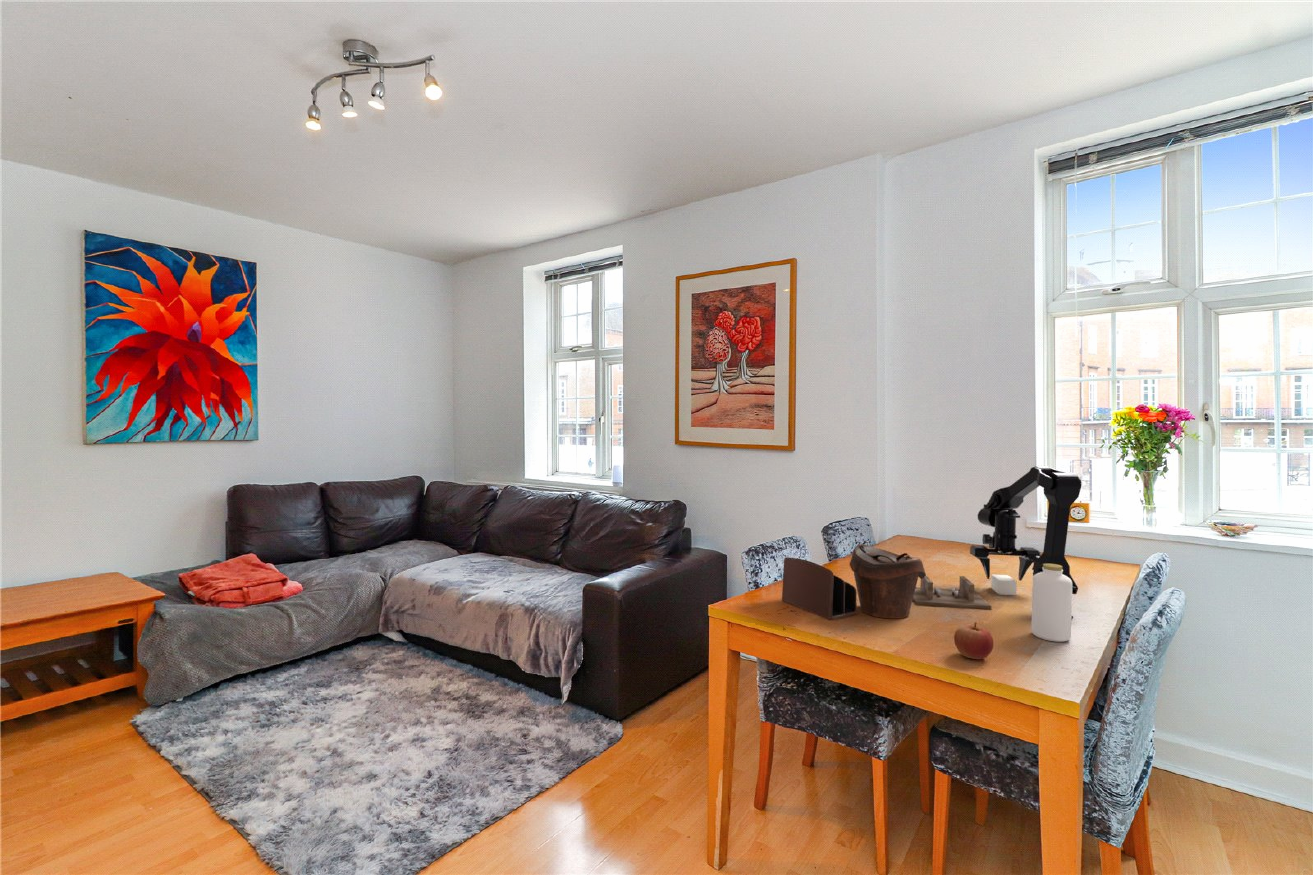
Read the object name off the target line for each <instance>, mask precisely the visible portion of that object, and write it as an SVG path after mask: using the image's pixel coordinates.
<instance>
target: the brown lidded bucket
mask: <svg viewBox="0 0 1313 875" xmlns="http://www.w3.org/2000/svg"><path fill="white" fill-rule="evenodd" d="M849 567H850V569H851V571H852V572H853V575H854V581H855V586H856V587H855V588H856V592H857V597H858V602H859V606H860V610H861V611H862V612H863V613H864V614H867V615H869V616H872V617H874V618H881V619H889V620H890V619H893V620H894V619H895V620H897V619H898V620H899V619H904V618H907V617H909V616H910V613H911V608H912V602H913V601H914V600H913V596H914V592H915V588H916V587H917V584H918V581H919V580H918V579H920V580H921V579H923V578H924V577H925V576H927V573H926V570H925V568H924V564H923V561H922V559H920V558H919V557H911V555H910V554H908V553H907V552H904V553H901V554H897V553H894V552H891V551H887V550H885V549H882V548H880V547H879V548H878V547H875V546H872V545H868V544H864V543H863V544H861V543H859V544H857V545H856V546H855V547H854V548H853V550H852V554H851V558H850V560H849Z"/></svg>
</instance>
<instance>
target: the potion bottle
mask: <svg viewBox="0 0 1313 875" xmlns="http://www.w3.org/2000/svg"><path fill="white" fill-rule="evenodd" d="M1042 569H1043V572H1040V573H1037V574H1035V575H1034V576H1033V575H1032V588H1031V589H1032V591H1031V592H1032V594H1031V595H1032V597H1031V598H1032V599H1031V600H1032V601H1031V633H1032V635H1034V636H1035V637H1036V638H1039V639H1041V640H1045V641H1048V642H1054V643H1055V642H1056V643H1060V642H1061V643H1062V642H1067V641H1069V640H1070V639H1071V638H1072V618H1071V617H1072V616H1073V615H1072V613H1073V610H1072V609H1073V605H1072V604H1073V594H1072V580H1071V579H1070V578H1068V577H1067V576H1065V575H1063V574H1062V572H1063V569H1062V566H1061V565H1057V564H1043V567H1042Z"/></svg>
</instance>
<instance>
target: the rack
mask: <svg viewBox="0 0 1313 875" xmlns="http://www.w3.org/2000/svg"><path fill="white" fill-rule="evenodd" d="M912 601H913V602H914V604H916V606H917V605H918V606H928V607H929V606H931V607H948V608H964V609H979V610H992V605H991V604H990V603H989V602H988V601H986V600H985V599H984V598H983V597H982V596H981V595H980V594H979V593H978V592H976V591H975V584H974V583H973V582H972V581H970V580H969V579H968V578H967V577H966V576H964V575H959V589H957V588H955V587H951V588H940V587H938V586H934V581H933V580H931V579H930V578H929V577H928V575H926V576H925V577H924V578H923V579H920V587H919V586H918V587H917V586H916V588H915V592H914V596H913V600H912Z"/></svg>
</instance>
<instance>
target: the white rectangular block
mask: <svg viewBox="0 0 1313 875" xmlns="http://www.w3.org/2000/svg"><path fill="white" fill-rule="evenodd" d="M990 575H991V576H990V589H992V590H993V591H994V592H996V594H997V595H1003V596H1004V595H1006V596H1017V589H1018V588H1017V587H1018V586H1017V585H1018V583H1017V580H1015V579H1014V578H1013V577H1011V576H1010V575H1006V574H991V573H990Z"/></svg>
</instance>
